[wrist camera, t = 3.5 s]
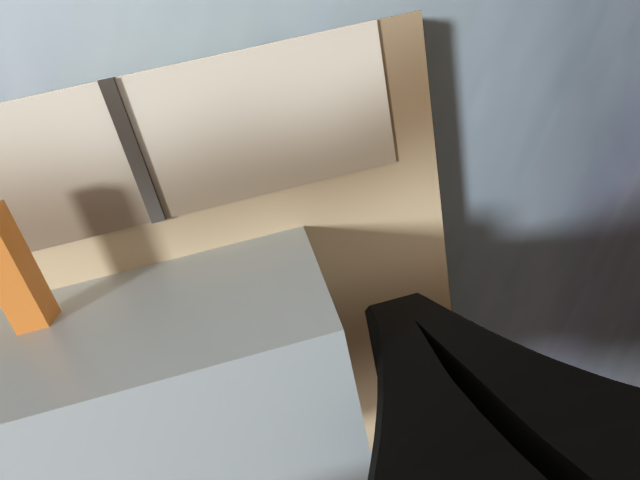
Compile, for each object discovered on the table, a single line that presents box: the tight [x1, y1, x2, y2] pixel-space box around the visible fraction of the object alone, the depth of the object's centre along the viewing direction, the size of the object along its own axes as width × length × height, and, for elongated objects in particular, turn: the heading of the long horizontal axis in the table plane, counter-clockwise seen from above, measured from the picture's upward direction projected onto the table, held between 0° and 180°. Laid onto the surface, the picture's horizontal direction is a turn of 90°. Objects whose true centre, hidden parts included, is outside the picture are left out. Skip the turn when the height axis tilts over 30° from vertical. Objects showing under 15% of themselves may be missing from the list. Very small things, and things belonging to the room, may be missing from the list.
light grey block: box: [0, 199, 371, 480], centre depth 8 cm, size 7×11×4 cm
